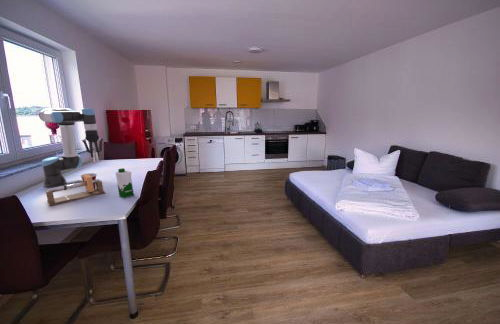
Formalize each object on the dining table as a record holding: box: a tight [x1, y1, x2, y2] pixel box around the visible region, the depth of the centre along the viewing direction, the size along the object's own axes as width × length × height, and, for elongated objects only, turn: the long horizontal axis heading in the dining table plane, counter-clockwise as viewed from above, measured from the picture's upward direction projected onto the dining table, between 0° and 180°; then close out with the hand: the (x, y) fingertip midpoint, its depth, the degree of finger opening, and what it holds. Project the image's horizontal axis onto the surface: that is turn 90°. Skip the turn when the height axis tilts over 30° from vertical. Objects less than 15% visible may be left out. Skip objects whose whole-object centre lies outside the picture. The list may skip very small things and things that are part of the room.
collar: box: [82, 173, 94, 192], centre depth 170 cm, size 11×3×11 cm, turn 48°
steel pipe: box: [48, 178, 100, 193], centre depth 164 cm, size 4×29×4 cm, turn 138°
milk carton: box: [114, 168, 135, 199], centre depth 166 cm, size 9×9×20 cm
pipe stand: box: [45, 179, 106, 207], centre depth 165 cm, size 12×32×9 cm, turn 138°
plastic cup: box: [80, 172, 98, 189], centre depth 183 cm, size 11×11×12 cm
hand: (96, 161), depth 171 cm, fingers closed
